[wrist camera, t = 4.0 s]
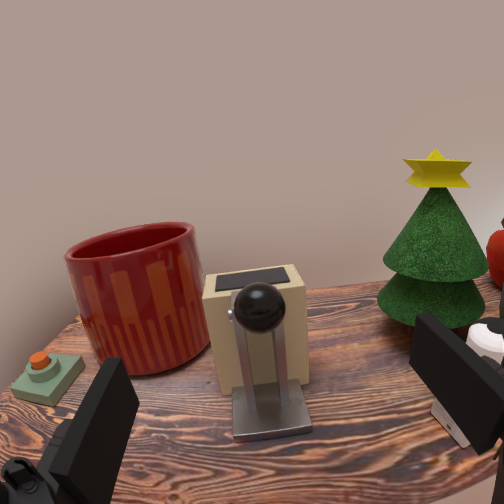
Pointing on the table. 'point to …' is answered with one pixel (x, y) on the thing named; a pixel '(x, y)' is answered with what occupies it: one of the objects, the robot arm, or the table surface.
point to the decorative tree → (435, 253)
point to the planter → (141, 295)
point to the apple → (496, 257)
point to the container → (483, 343)
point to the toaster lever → (259, 308)
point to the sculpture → (502, 303)
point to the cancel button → (39, 360)
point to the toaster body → (258, 344)
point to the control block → (48, 379)
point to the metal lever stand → (266, 394)
